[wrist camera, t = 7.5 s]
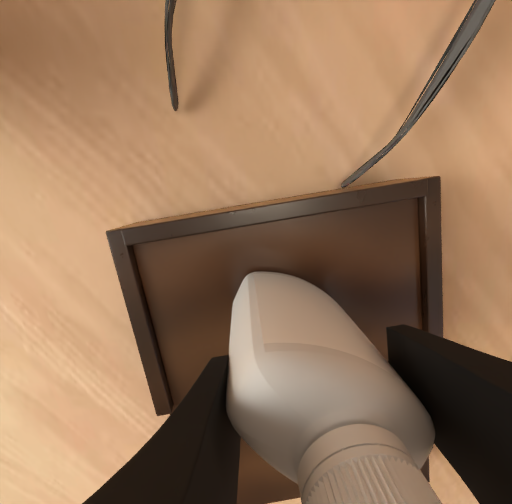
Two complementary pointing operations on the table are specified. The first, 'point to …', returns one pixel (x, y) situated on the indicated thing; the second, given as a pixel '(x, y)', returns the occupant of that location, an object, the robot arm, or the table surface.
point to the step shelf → (280, 261)
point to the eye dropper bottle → (323, 398)
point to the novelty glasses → (453, 57)
